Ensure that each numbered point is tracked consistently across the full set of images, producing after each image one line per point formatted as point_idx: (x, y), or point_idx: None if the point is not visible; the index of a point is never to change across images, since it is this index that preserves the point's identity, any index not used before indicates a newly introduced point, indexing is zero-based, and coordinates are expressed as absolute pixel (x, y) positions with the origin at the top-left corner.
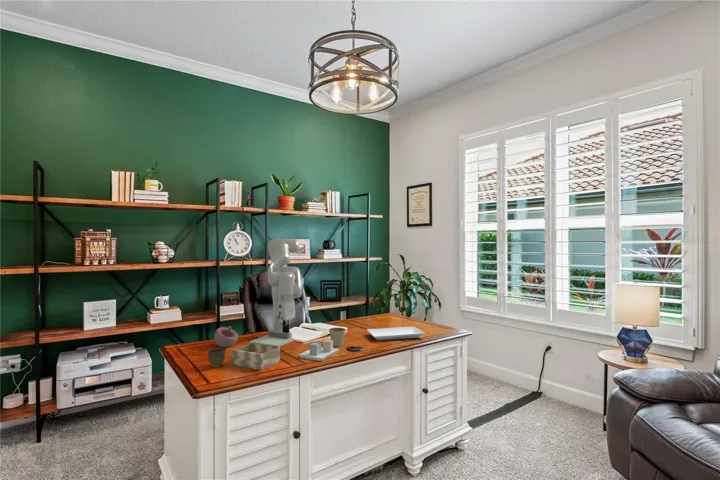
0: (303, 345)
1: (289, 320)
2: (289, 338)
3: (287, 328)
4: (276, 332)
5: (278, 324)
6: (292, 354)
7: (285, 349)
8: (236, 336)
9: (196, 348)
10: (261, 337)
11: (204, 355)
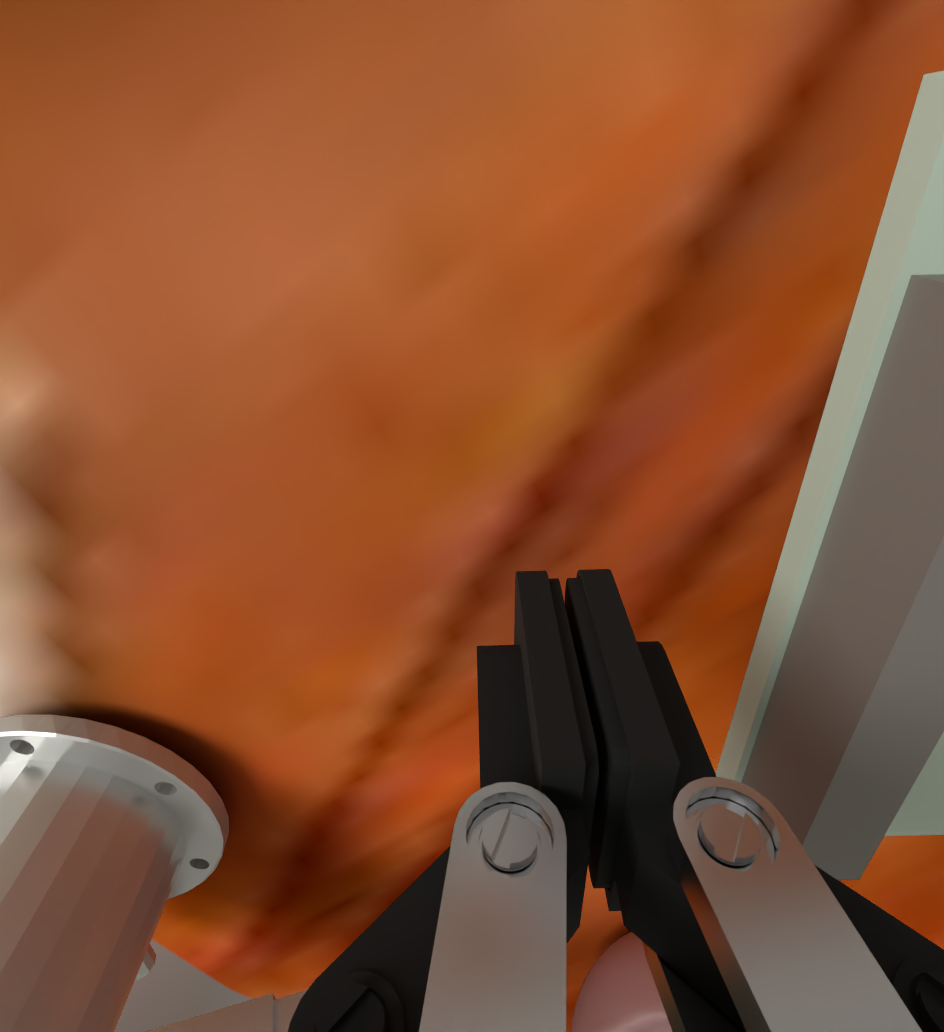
0: (127, 339)
1: (524, 1024)
2: (934, 267)
3: (647, 673)
4: (912, 735)
5: (80, 1010)
6: (695, 174)
7: (481, 470)
8: (663, 1023)
9: None
10: (898, 822)
11: (912, 925)
